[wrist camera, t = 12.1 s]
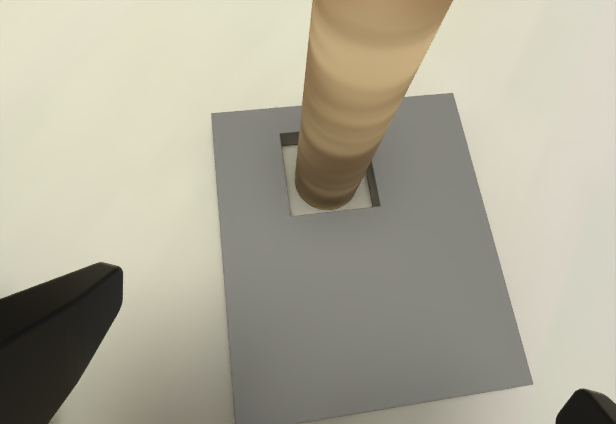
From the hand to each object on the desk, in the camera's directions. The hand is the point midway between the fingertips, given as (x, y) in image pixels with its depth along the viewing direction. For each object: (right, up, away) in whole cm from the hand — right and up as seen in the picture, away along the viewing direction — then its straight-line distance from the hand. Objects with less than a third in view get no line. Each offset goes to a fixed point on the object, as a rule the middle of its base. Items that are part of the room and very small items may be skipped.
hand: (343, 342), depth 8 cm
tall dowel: (0, +4, +16) cm, 16 cm away
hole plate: (+2, +1, +15) cm, 15 cm away
